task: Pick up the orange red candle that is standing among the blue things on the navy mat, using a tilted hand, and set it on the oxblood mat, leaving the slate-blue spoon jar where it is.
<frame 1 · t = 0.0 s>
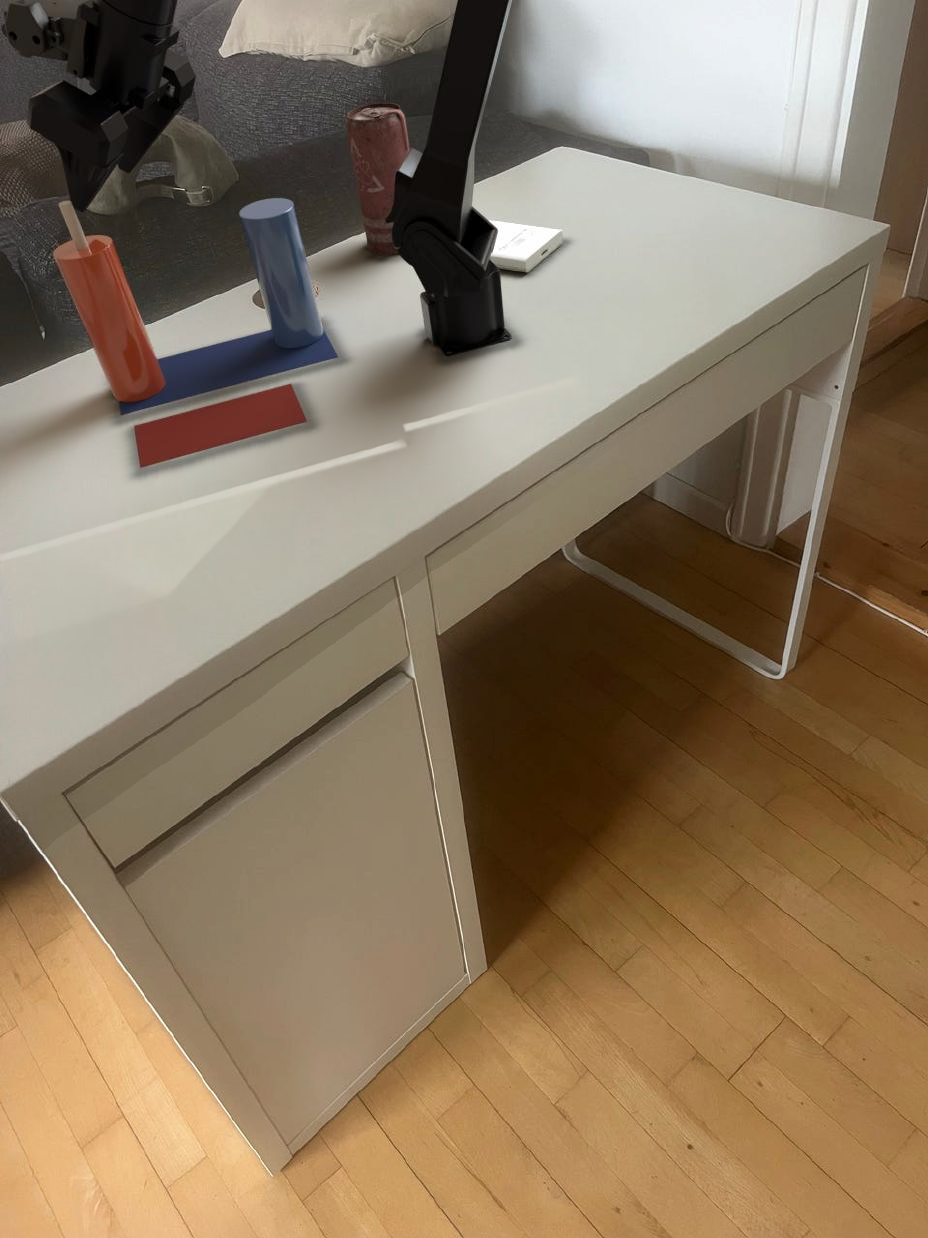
hand: (101, 188, 79), 15 cm above the table, tool tilted 35°, fingers open, 9 cm apart
navy mat: (226, 368, 85), on the table
oxblood mat: (220, 428, 77), on the table
hard drive: (494, 252, 97), on the table
can: (397, 249, 101), on the table
orange red candle: (139, 388, 83), resting on navy mat
slate blue jar: (299, 336, 87), resting on navy mat
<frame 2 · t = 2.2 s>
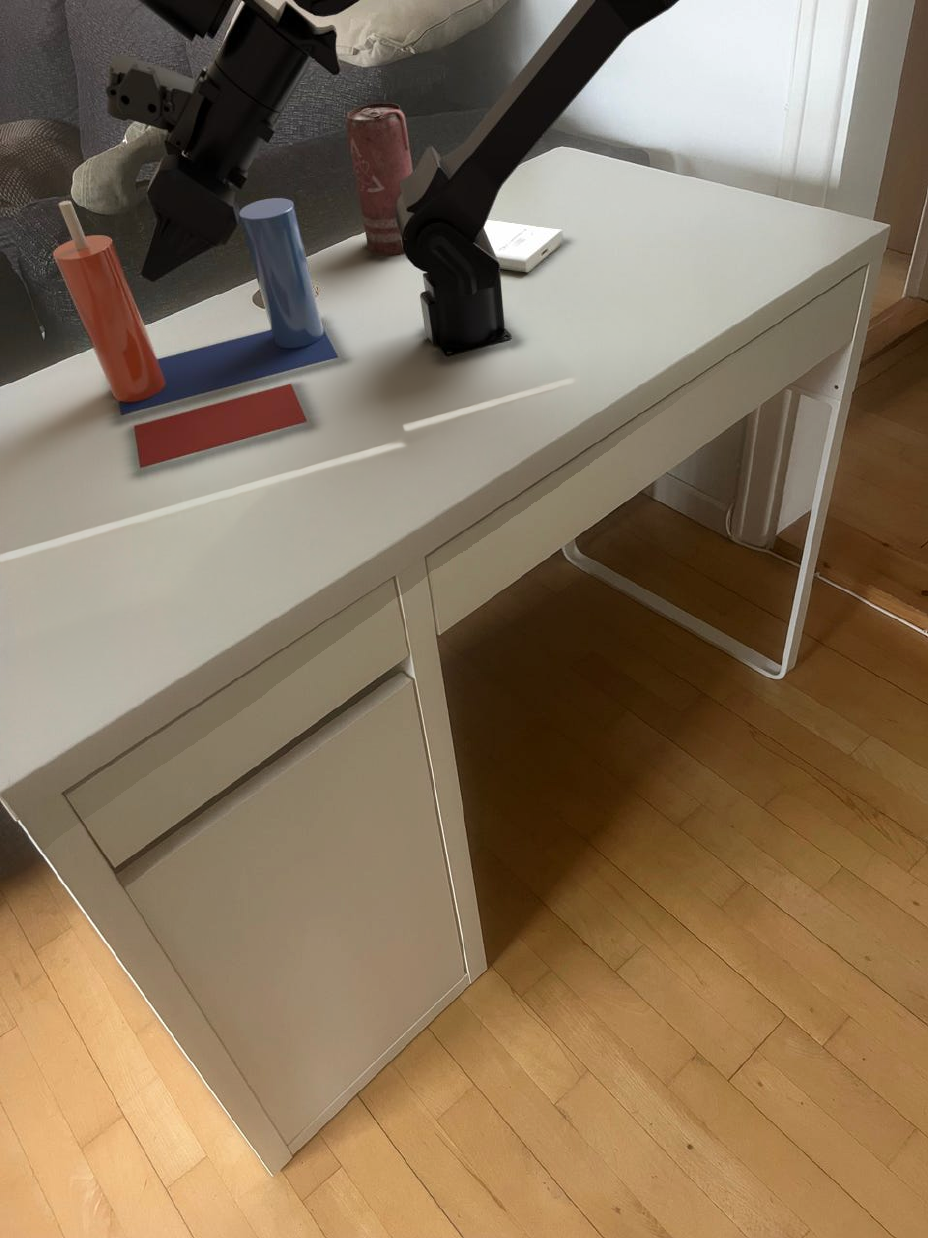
hand: (153, 255, 75), 12 cm above the table, tool tilted 45°, fingers open, 9 cm apart
nothing on the table moved.
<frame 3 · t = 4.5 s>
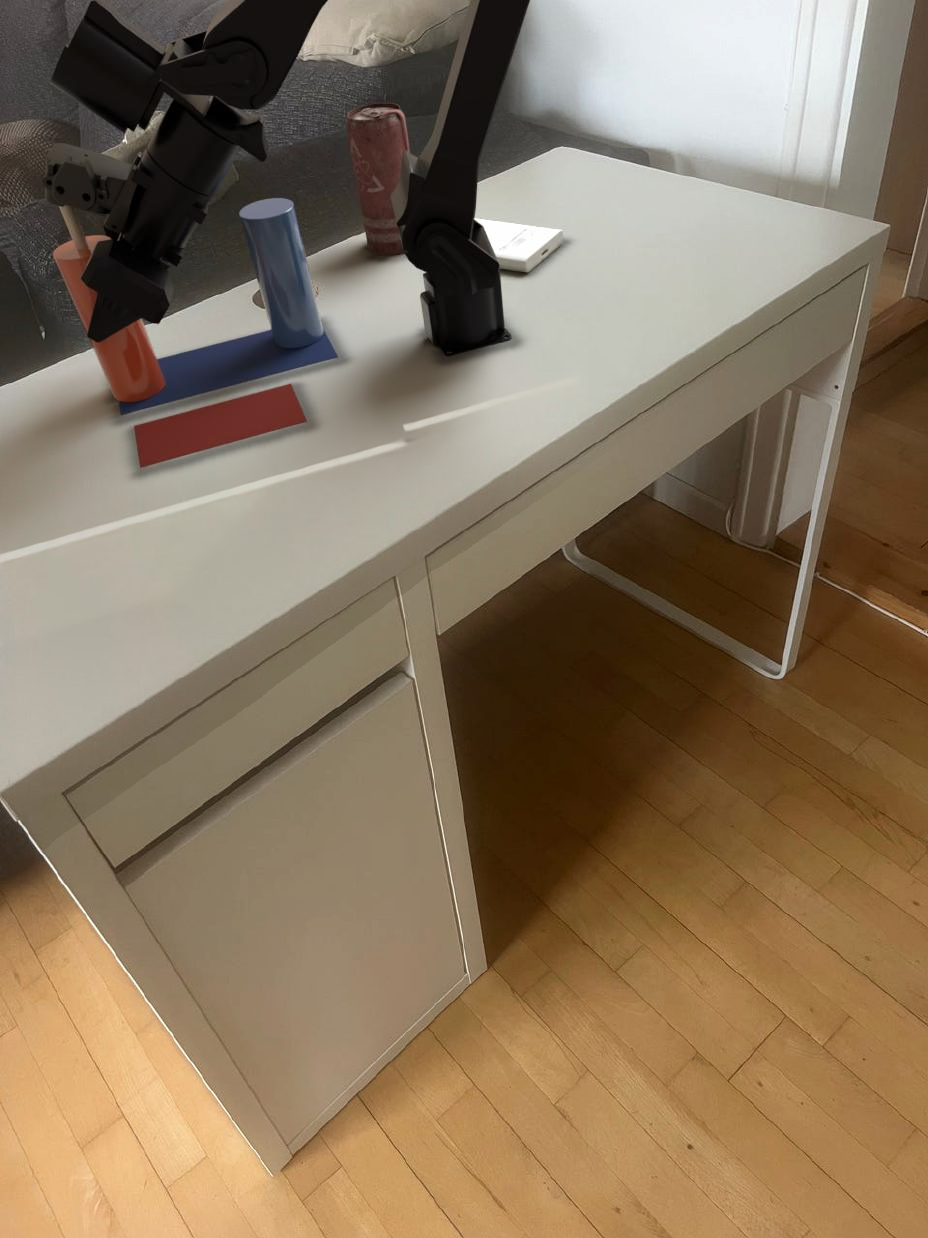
hand: (97, 325, 78), 7 cm above the table, tool tilted 45°, fingers closed on orange red candle, 5 cm apart
orange red candle: (139, 388, 83), point 1 cm above the table, touching gripper, navy mat
everything else where it was.
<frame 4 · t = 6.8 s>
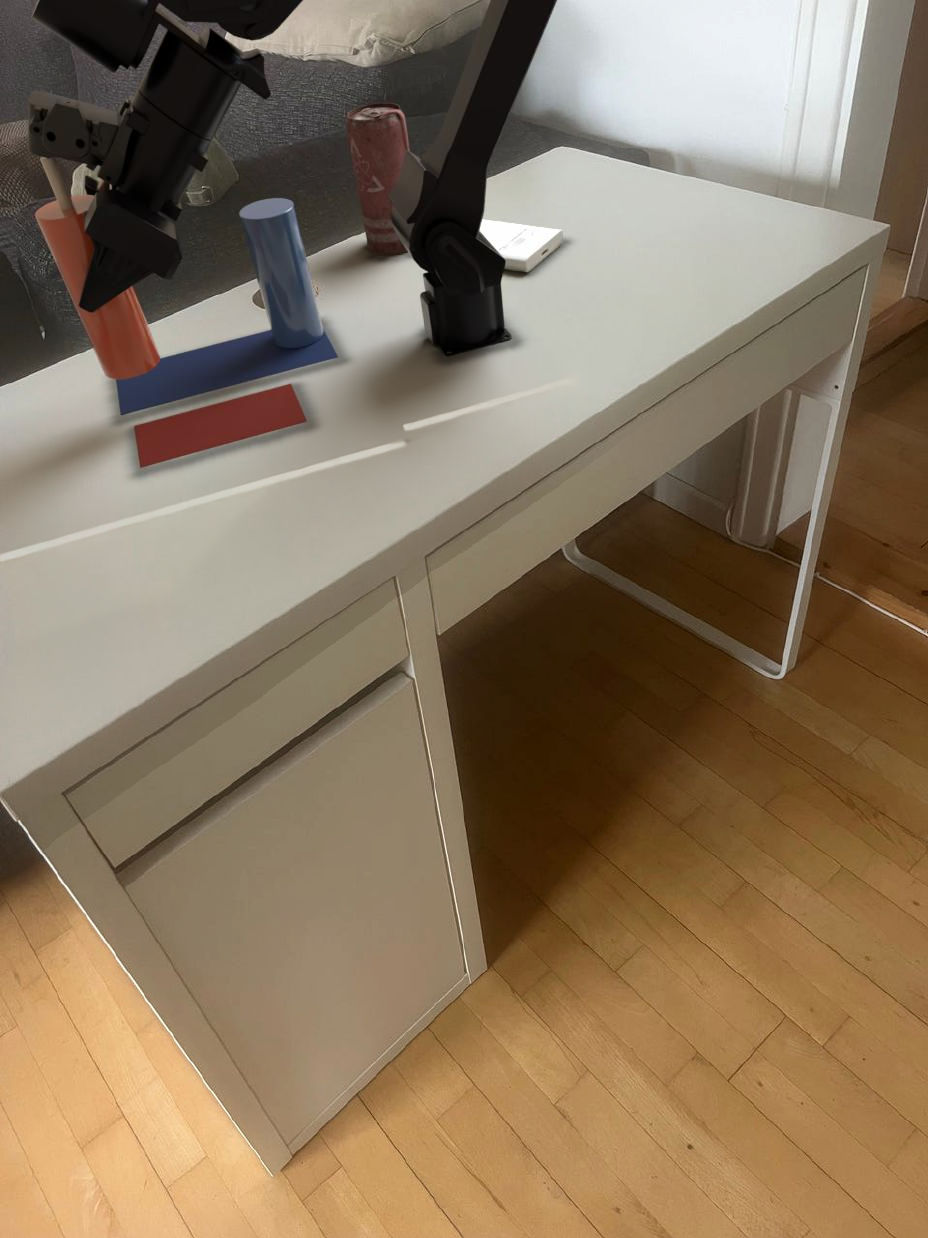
hand: (85, 296, 72), 11 cm above the table, tool tilted 45°, fingers closed on orange red candle, 5 cm apart
orange red candle: (132, 364, 76), point 5 cm above the table, touching gripper
everything else where it was.
when the fingers open (7 cm above the table, at t = 9.4 s): orange red candle stays where it is, resting on oxblood mat.
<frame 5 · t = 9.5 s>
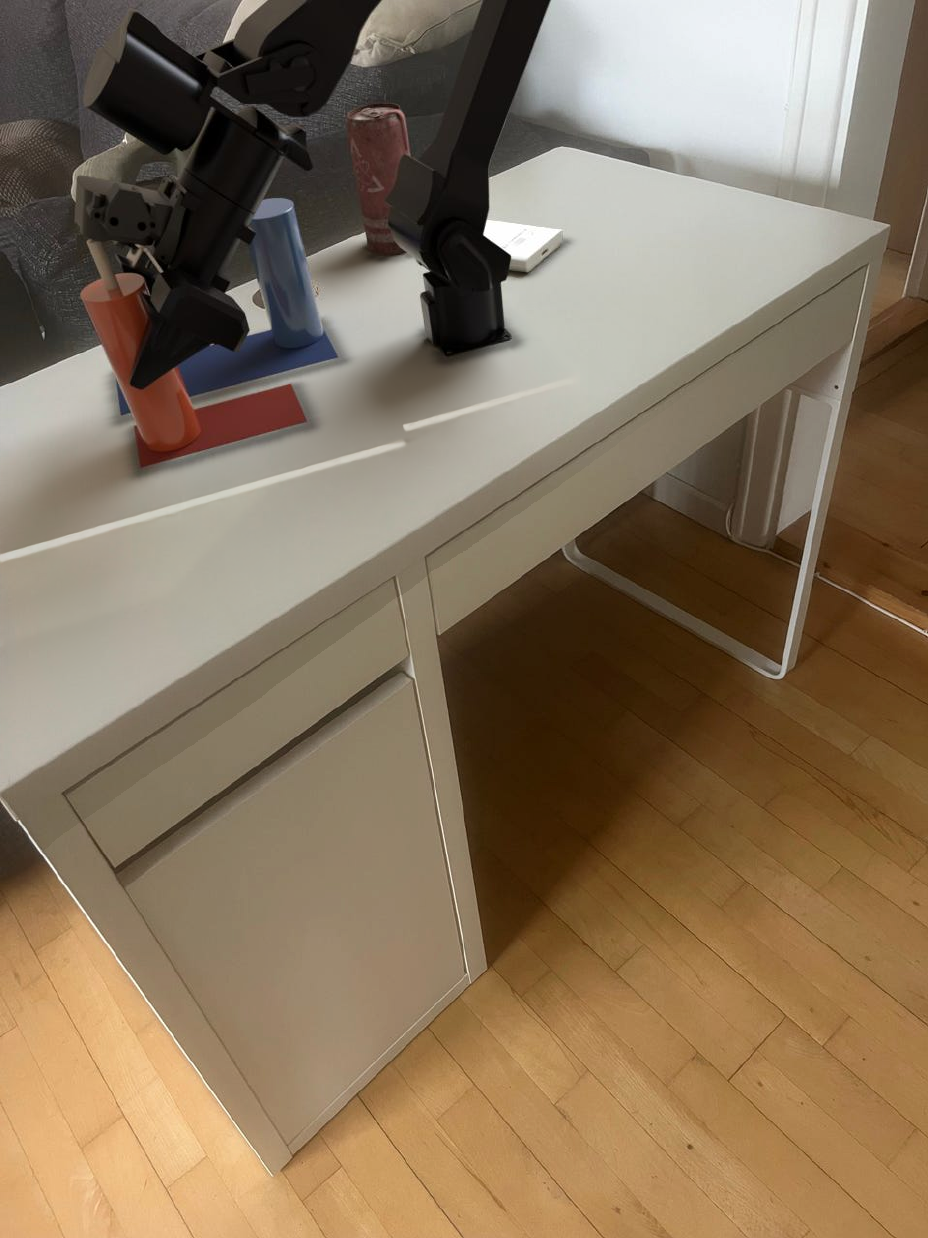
hand: (127, 373, 71), 7 cm above the table, tool tilted 45°, fingers open, 5 cm apart
orange red candle: (173, 435, 76), point 1 cm above the table, touching oxblood mat
everything else where it was.
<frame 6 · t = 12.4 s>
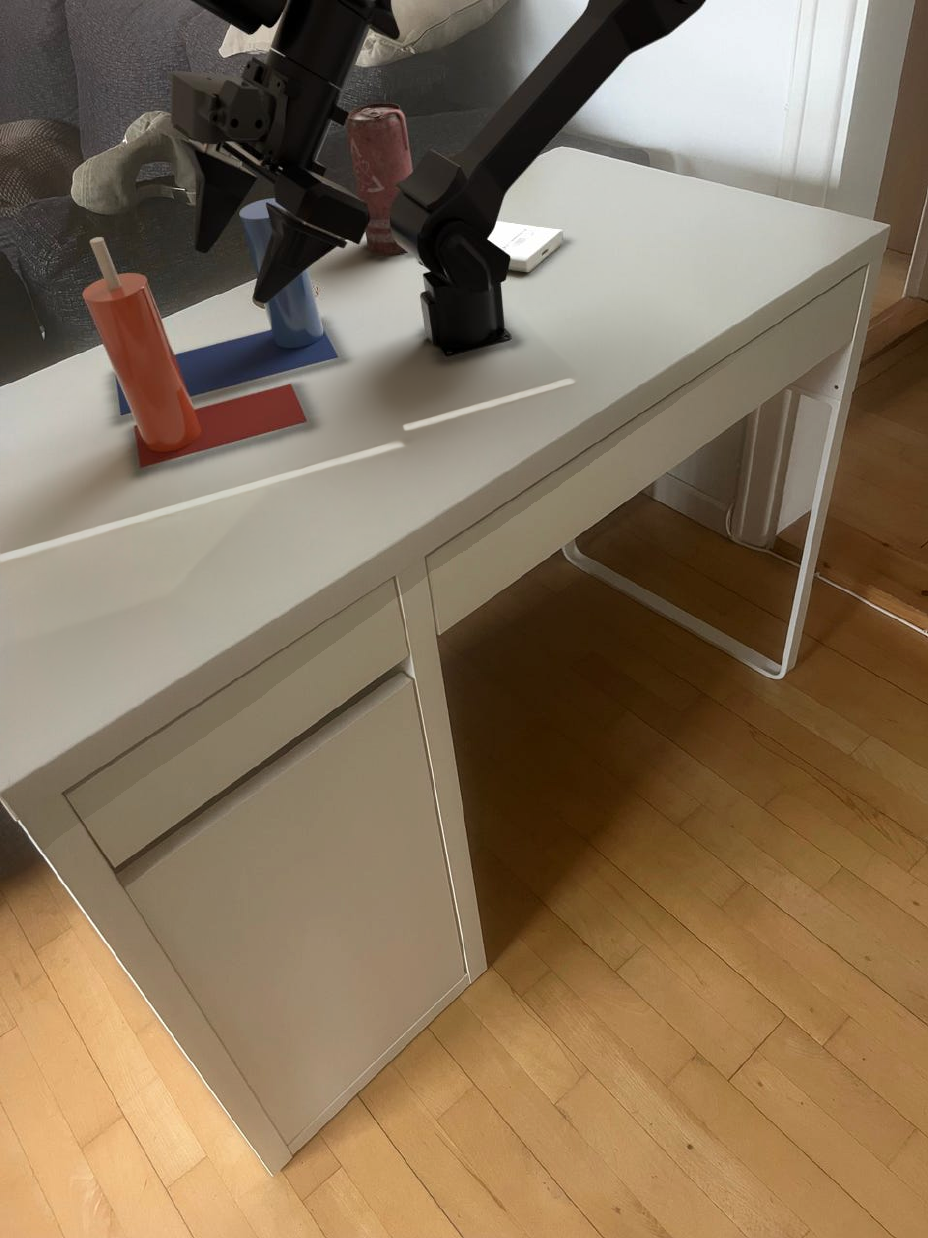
hand: (228, 275, 71), 12 cm above the table, tool tilted 40°, fingers open, 9 cm apart
nothing on the table moved.
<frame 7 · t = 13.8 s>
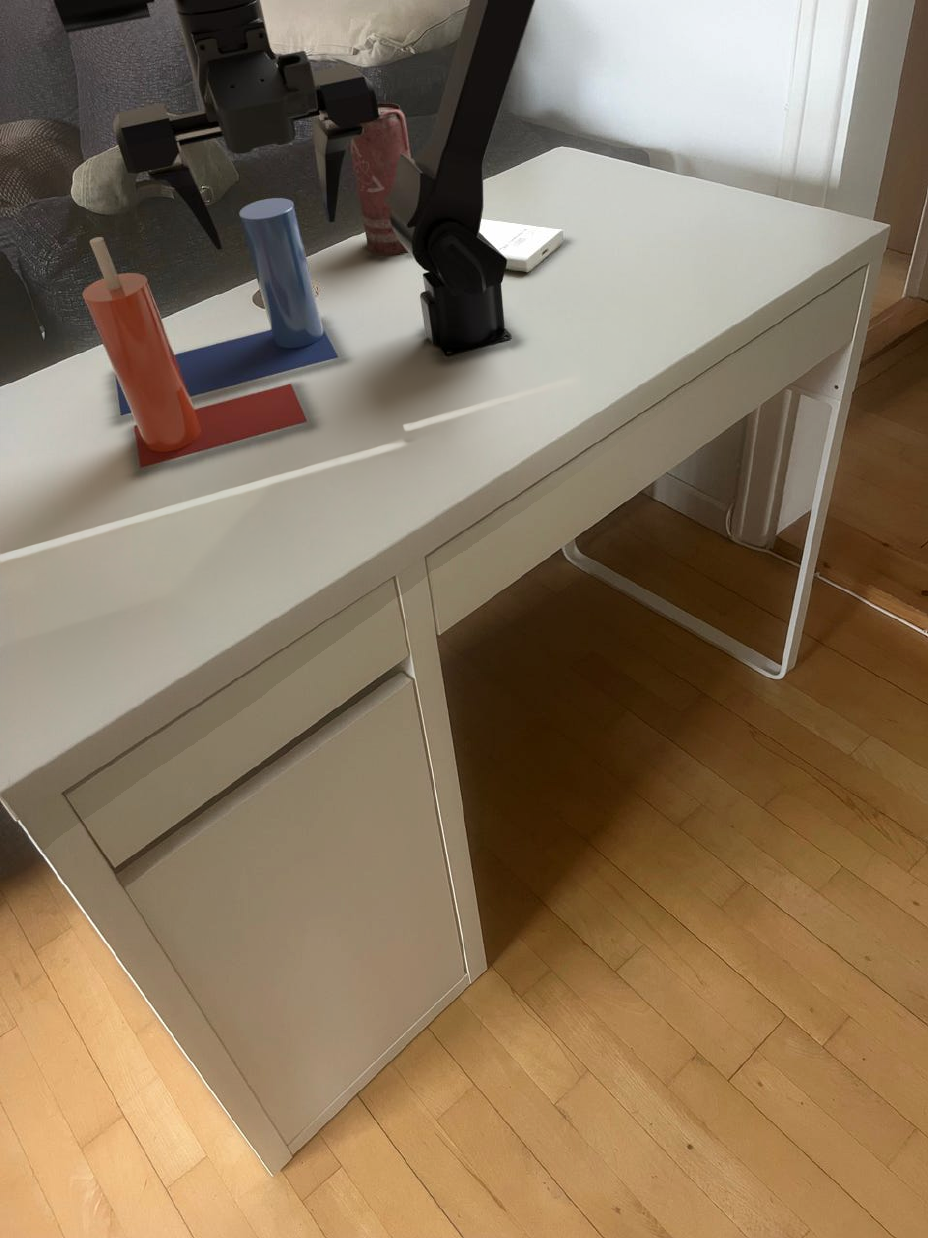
hand: (275, 234, 72), 13 cm above the table, tool pointing down, fingers open, 9 cm apart
nothing on the table moved.
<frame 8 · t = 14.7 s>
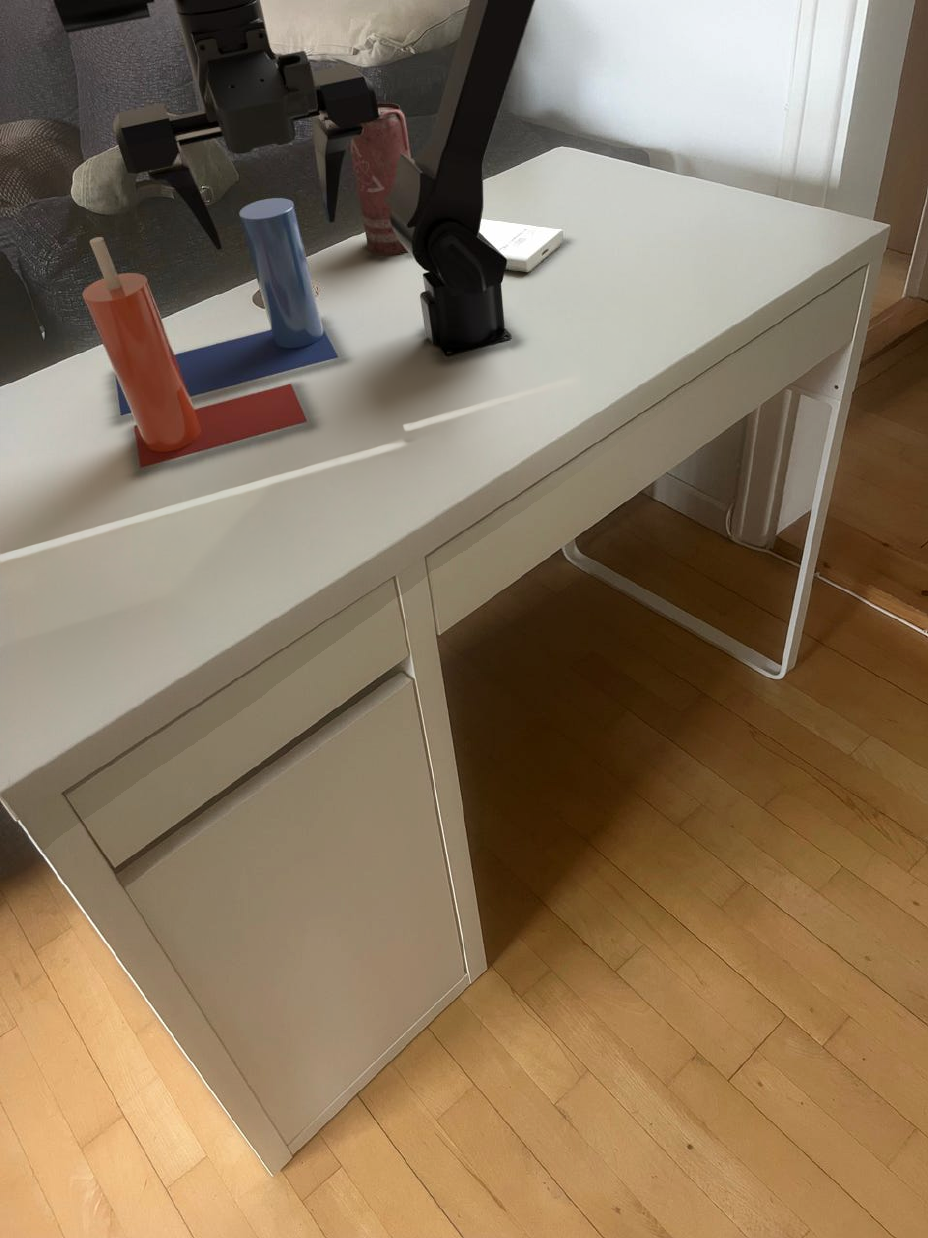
hand: (275, 234, 72), 13 cm above the table, tool pointing down, fingers open, 9 cm apart
nothing on the table moved.
at the end: orange red candle inside the target area (3.6 cm from its centre), point 0.5 cm above the table; orange red candle tilted 0°; slate blue jar moved 0.0 cm from its start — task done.
